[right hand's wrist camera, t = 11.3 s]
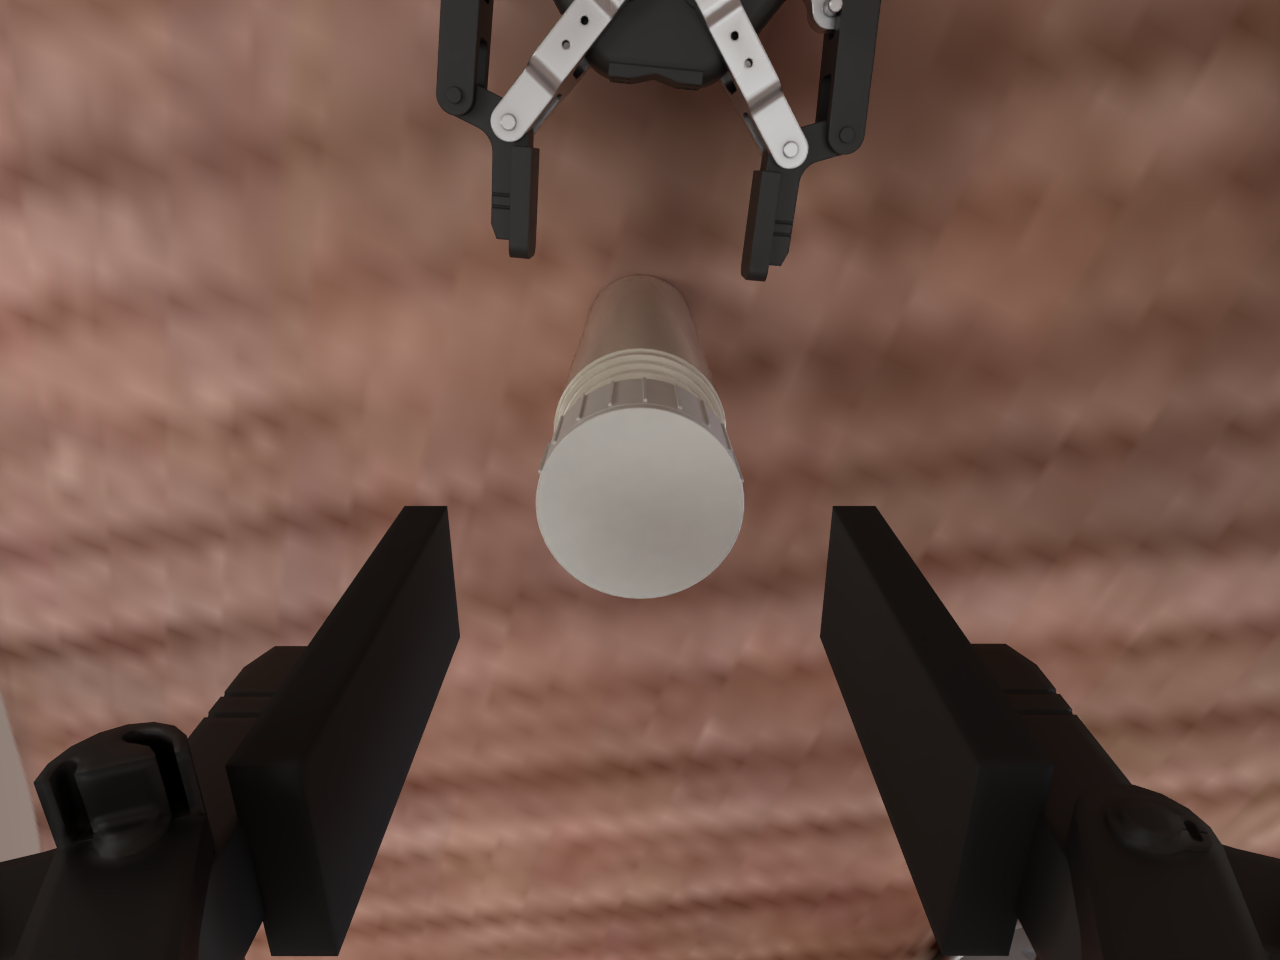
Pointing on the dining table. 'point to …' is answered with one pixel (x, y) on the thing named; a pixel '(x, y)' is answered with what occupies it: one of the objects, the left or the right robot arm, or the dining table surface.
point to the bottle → (639, 344)
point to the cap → (639, 490)
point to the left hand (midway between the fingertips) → (638, 267)
